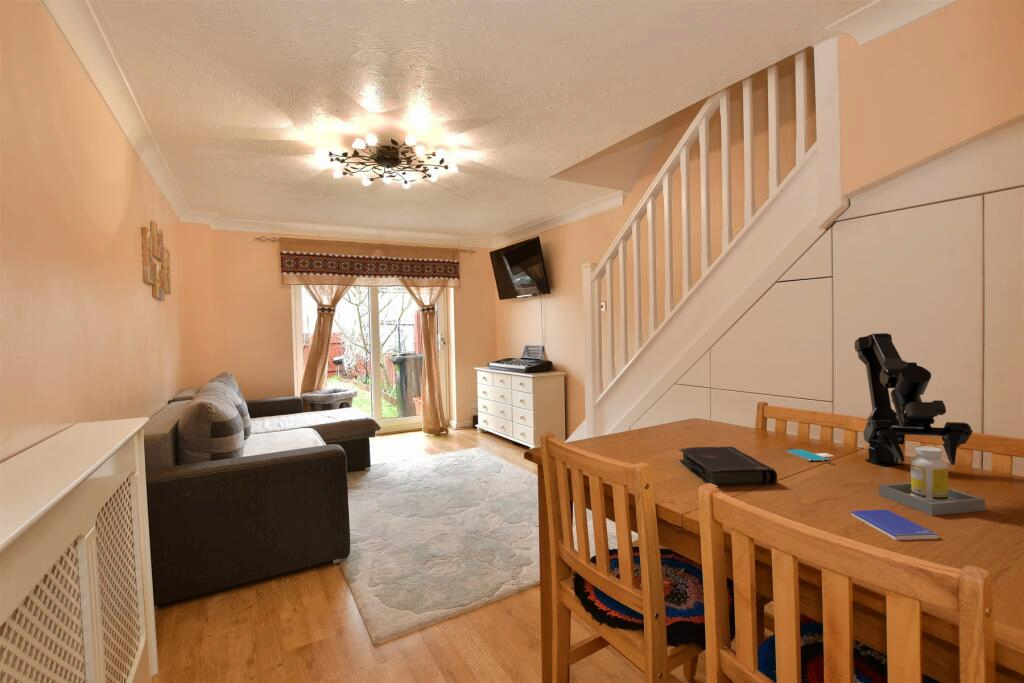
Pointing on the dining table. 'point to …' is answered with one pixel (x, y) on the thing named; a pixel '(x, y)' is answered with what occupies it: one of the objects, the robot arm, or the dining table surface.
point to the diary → (727, 467)
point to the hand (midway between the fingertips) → (927, 462)
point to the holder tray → (954, 504)
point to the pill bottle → (929, 474)
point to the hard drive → (894, 525)
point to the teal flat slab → (808, 455)
